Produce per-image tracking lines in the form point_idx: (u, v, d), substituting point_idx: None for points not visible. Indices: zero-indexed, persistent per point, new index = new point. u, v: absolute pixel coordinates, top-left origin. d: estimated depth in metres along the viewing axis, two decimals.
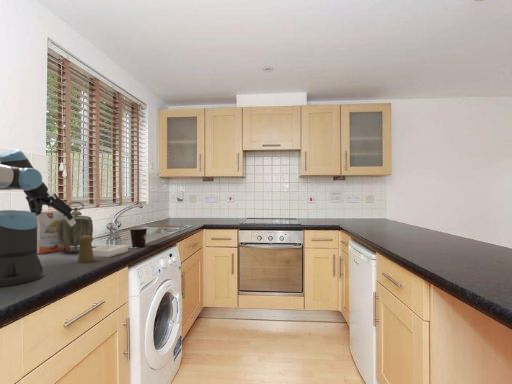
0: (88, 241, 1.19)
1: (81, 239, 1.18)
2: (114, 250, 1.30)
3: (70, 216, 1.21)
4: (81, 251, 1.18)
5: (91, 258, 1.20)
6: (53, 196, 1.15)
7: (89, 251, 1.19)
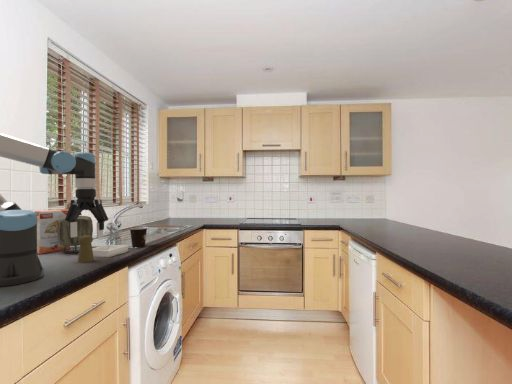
0: (88, 241, 1.19)
1: (81, 239, 1.18)
2: (114, 250, 1.30)
3: (102, 226, 1.19)
4: (81, 251, 1.18)
5: (91, 258, 1.20)
6: (98, 200, 1.19)
7: (89, 251, 1.19)
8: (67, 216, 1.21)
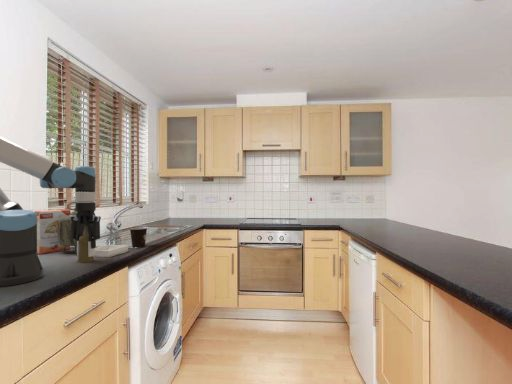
0: None
1: (81, 239, 1.18)
2: (114, 250, 1.30)
3: (94, 244, 1.19)
4: (81, 251, 1.18)
5: (91, 258, 1.20)
6: (98, 218, 1.19)
7: None
8: (72, 234, 1.20)
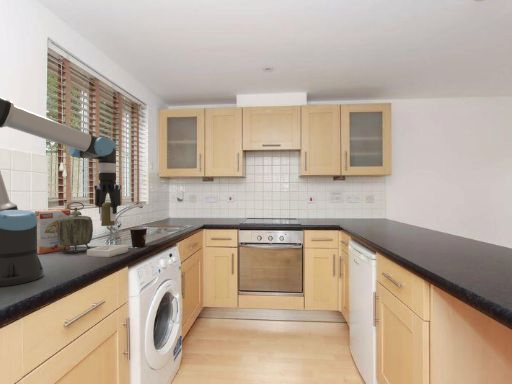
0: None
1: (104, 205, 1.32)
2: (114, 250, 1.30)
3: (115, 210, 1.33)
4: (104, 216, 1.32)
5: (113, 222, 1.33)
6: (119, 186, 1.32)
7: None
8: (96, 201, 1.34)
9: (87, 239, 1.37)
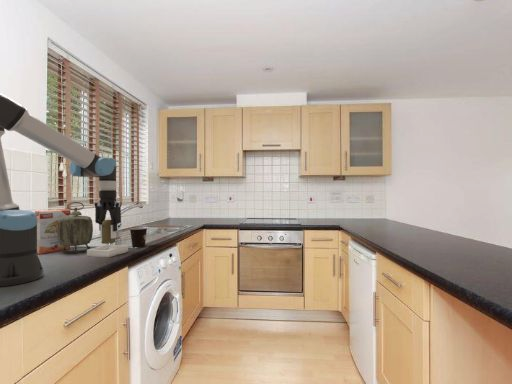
0: (110, 224, 1.33)
1: (104, 223, 1.32)
2: (114, 250, 1.30)
3: (116, 228, 1.33)
4: (104, 234, 1.32)
5: (113, 240, 1.34)
6: (119, 204, 1.33)
7: None
8: (96, 218, 1.34)
9: (87, 239, 1.37)
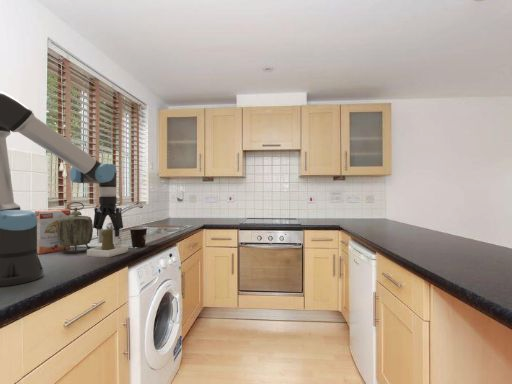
0: (110, 234, 1.33)
1: (104, 232, 1.32)
2: (114, 250, 1.30)
3: (118, 233, 1.33)
4: (104, 243, 1.32)
5: None
6: (119, 209, 1.33)
7: (111, 243, 1.33)
8: (94, 223, 1.35)
9: (87, 239, 1.37)
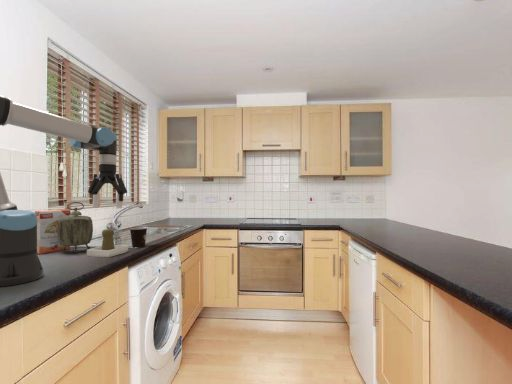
0: (110, 234, 1.33)
1: (104, 232, 1.32)
2: (114, 250, 1.30)
3: (122, 198, 1.32)
4: (104, 243, 1.32)
5: None
6: (119, 175, 1.33)
7: (111, 243, 1.33)
8: (90, 189, 1.35)
9: (87, 239, 1.37)
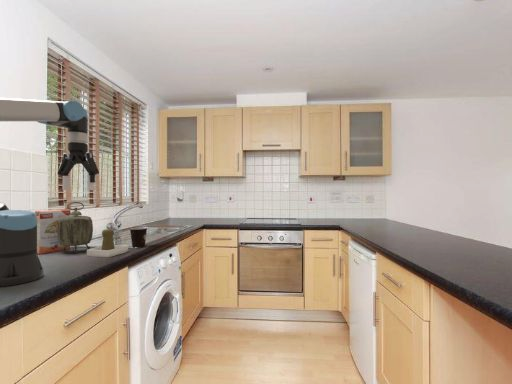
0: (110, 234, 1.33)
1: (104, 232, 1.32)
2: (114, 250, 1.30)
3: (93, 179, 1.23)
4: (104, 243, 1.32)
5: None
6: (90, 154, 1.23)
7: (111, 243, 1.33)
8: (59, 170, 1.26)
9: (87, 239, 1.37)
